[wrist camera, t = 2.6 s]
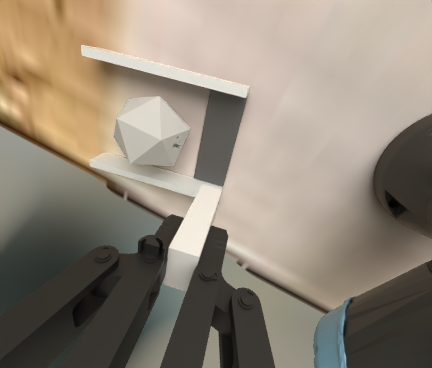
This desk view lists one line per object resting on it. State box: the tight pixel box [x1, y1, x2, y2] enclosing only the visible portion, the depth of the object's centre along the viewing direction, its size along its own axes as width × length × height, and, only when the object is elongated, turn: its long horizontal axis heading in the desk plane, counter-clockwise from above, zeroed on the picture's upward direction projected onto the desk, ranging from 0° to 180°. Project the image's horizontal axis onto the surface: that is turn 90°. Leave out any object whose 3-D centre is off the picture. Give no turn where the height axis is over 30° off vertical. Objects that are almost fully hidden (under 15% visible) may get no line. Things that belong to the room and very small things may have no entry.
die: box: [114, 96, 190, 166], centre depth 27 cm, size 8×9×10 cm
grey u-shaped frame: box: [81, 45, 250, 197], centre depth 28 cm, size 19×15×4 cm
